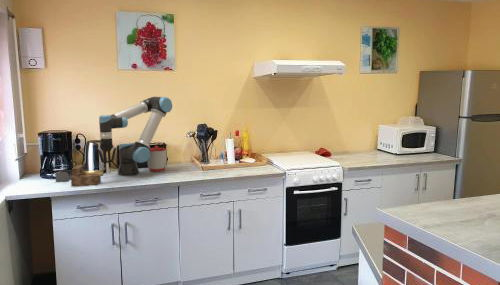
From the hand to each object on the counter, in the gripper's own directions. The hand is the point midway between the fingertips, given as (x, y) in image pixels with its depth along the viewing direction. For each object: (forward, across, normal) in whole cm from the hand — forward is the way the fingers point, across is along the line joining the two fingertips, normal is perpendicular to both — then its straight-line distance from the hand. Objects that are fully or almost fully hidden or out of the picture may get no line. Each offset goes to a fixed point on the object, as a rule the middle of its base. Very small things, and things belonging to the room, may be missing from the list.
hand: (108, 172), depth 253 cm
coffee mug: (+8, -35, +34) cm, 50 cm away
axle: (+1, -11, 0) cm, 11 cm away
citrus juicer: (+8, +30, +33) cm, 45 cm away
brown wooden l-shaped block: (+8, -14, 0) cm, 16 cm away
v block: (+8, -32, +13) cm, 36 cm away
